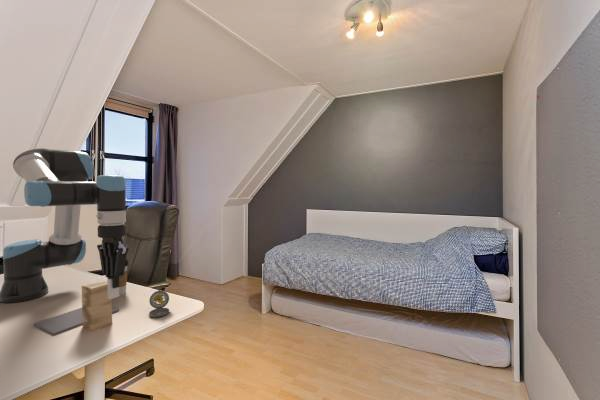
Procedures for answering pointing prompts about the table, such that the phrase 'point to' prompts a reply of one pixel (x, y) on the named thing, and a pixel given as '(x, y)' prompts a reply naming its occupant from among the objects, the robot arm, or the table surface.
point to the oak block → (96, 305)
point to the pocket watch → (159, 307)
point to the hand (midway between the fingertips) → (113, 297)
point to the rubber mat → (63, 321)
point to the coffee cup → (123, 280)
